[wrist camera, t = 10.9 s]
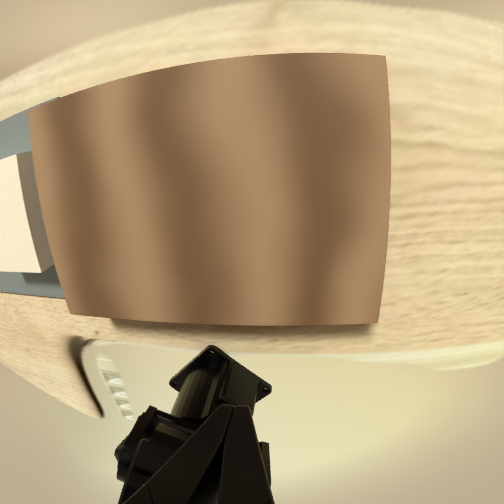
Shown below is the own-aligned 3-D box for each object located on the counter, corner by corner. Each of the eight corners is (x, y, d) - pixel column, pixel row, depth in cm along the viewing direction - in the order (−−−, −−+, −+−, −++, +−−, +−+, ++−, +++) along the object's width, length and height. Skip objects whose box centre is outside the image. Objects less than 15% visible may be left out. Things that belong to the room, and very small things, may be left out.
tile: (-25, 169, 18) (-4, 163, 20) (-1, 271, 21) (16, 260, 23) (16, 154, 17) (38, 149, 19) (41, 272, 20) (59, 259, 23)
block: (367, 69, 15) (385, 56, 12) (365, 289, 21) (377, 323, 17) (65, 108, 18) (28, 110, 15) (97, 287, 23) (70, 313, 20)
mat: (59, 97, 18) (57, 97, 18) (95, 298, 24) (94, 300, 24) (-42, 144, 20) (-44, 145, 20) (-10, 289, 26) (-12, 290, 26)
